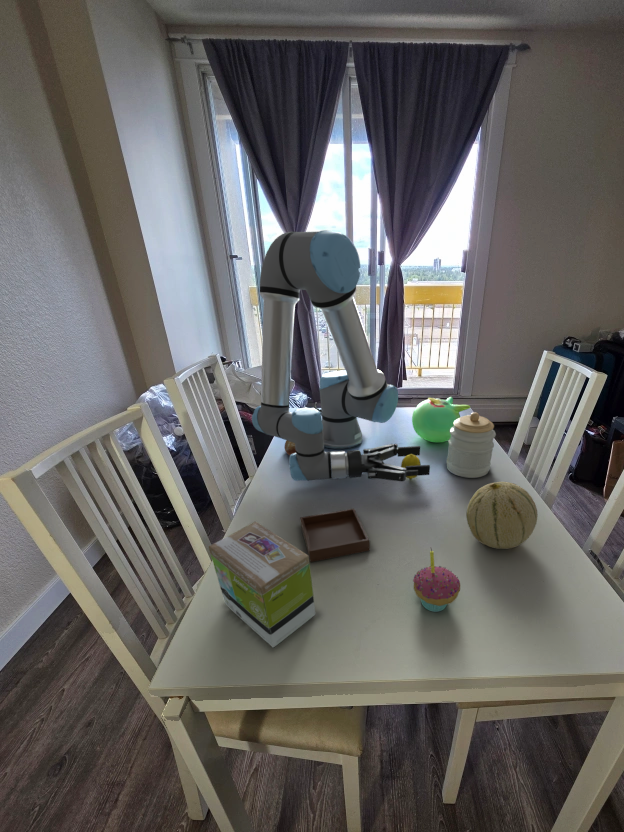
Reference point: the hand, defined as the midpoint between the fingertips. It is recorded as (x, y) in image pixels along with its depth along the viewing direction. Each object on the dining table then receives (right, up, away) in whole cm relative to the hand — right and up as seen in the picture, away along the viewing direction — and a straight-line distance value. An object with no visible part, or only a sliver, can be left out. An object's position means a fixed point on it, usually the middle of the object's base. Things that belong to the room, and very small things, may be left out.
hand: (424, 459), depth 115 cm
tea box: (-33, -32, -39) cm, 61 cm away
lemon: (-4, -5, +3) cm, 7 cm away
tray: (-23, -20, -21) cm, 37 cm away
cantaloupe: (+14, -21, -22) cm, 33 cm away
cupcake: (-3, -31, -38) cm, 49 cm away
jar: (+14, -2, +9) cm, 17 cm away
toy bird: (+7, +10, +27) cm, 30 cm away
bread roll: (-38, +4, +19) cm, 42 cm away
